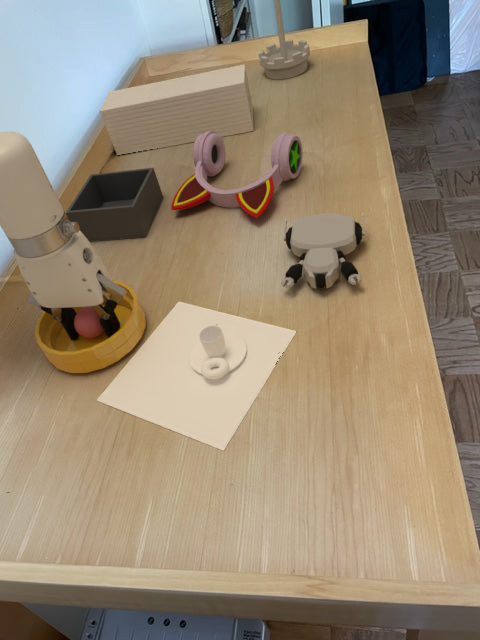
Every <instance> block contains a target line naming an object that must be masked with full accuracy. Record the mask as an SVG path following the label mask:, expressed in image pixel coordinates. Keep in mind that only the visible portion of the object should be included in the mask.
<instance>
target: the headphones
mask: <svg viewBox="0 0 480 640" xmlns="http://www.w3.org/2000/svg"><path fill="white" fill-rule="evenodd" d="M193 143H194V144H193V148H192V160H193V164H194V166H195V169H194V173H193V174H192V175H191V176H190V177H189V178H187V179H186V180H185V181H184V182H183V183H182V184H181V186H180V187H179V188H178V190H177V191H176V193H175V195H174V197H173V199H172V202H171V207H170V210H171V211H181V210H186V209H191V208H193V207H196V206H199V205H201V204H204V203H205V202H207V201H209V202H210V203H212V204H213V205H215V206H217V207H221V208H227V209H229V208H230V209H231V208H232V209H235V208H241V209H242V210H243V211H244V212H245V213H246V214H247V215H248V216H250V217H252V218H255V219H258V218H259V217H261V216H262V215H263V214H264V213H265V212H266V210H267V209H268V208H269V205H270V204H271V202H272V200H273V197H274V193H275V191H276V190H277V189H278V187H279V186H280V185H281V184H282V182H283V181H284V182H288V181H289V180H291V179H296V178H297V177H298V176H299V175H300V172H301V168H302V166H303V165H302V164H303V156H304V155H303V153H304V152H303V150H304V149H303V143H302V140H301V138H300V137H299V136H298V135H294V134H293V133H291V132H283V133H281V134H280V135H278V136H277V137H276V139H275V140H274V142H273V145H272V148H271V154H270V156H271V157H270V163H271V164H270V165H271V169H270V170H269V171H268V172H267V173H265V175H264V176H262V177H261V178H259V179H258V180H256V181H254V182H252V183H249V184H247V185H245V186H241V187H238V188H233V189H220V188H217V187H214V186H212V185H211V184H210V183H209V182H208V177H215V176H217V175H218V174H219V173H220V172H221V171H222V170H223V168H224V166H225V162H226V155H227V154H226V152H227V151H226V145H225V141H224V140H223V138H222V137H220V136H219V135H218V134H217V133H216V132H214V131H207V132H205V133H204V134H200V135H199V136H198V137H197V139H196V141H195V142H193Z"/></svg>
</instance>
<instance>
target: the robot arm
mask: <svg viewBox="0 0 480 640" xmlns="http://www.w3.org/2000/svg"><path fill="white" fill-rule="evenodd" d="M61 203H62V202H61V201H60V200H59V198H58V195H57V193H56V191H55V189H54V188H53V185H52V184H51V181H50V179H49V177H48V174H47V173H46V171H45V169H44V167H43V165H42V163H41V161H40V159H39V157H38V155H37V153H36V151H35V148H34V147H33V146H32V143H31V142H30V141H29V139H28V138H27V136H25V135H23V134H21V133H20V132H16V131H2V132H0V228H1V229H2V231H3V233H4V234H5V236H6V238H7V240H8V241H9V243H10V244H11V246H12V247H13V254H14V255H13V256H14V258H15V261H16V264H17V267H18V269H19V271H20V274H21V275H22V278H23V281H24V283H25V284H26V286H27V288H28V289H29V293H28V295H27V298H26V301H27V303H28V304H30V305H32V306H34V307H37V308H39V309H41V311H42V312H43V311H45V312H47V313H49V314H51V315H52V316H53V319H54V320H56V321H60V322H61V324H62V325H63V327H64V329H65V330H66V332H67V334H68V335H69V337H70V339H71V340H76V339H77V338H78V336H79V333H78V332H77V331H76V329H75V326H74V319H75V316H76V312H75V310H74V309H73V308H72V307H86V306H91V307H92V308H93V309H94V310H95V312H96V313H97V314H98V315H99V316H100V317H101V319H100V324H101V325H102V327H103V329H104V331H105V333H106V335H107V337H108V338H110V337H111V336H112V335H114V334H115V333H116V332H117V331H118V330H119V328H120V322H119V320H118V318H117V316H116V314H115V312H114V310H115V308H116V306H117V305H118V304H119V303H120V302H121V301H122V300H123V299H124V297H125V295H126V292H127V291H126V290H125V289H124V288H122V287H121V286H119V285H117V284H116V283H114V282H113V281H112V280H113V279H112V277H111V274H110V272H109V271H108V269H107V267H106V265H105V263H104V262H103V260H102V258H101V257H100V255H99V254H98V252H97V250H96V249H95V247H94V246H93V244H92V242H89V241H88V239H87V238H86V237H85V236H84V234H83V233H82V232H81V231H80V227H79V224H78V223H77V222H71V221H69V219H68V217H67V215H66V212H65V210H64V208H63V205H62V204H61ZM104 291H105V292H107V293H108V294H110V295H111V297H109V296H108V295H107V294H106V293H105V292H104ZM101 303H103V304H104V305H105V306H104V307H103V306H102V305H101ZM68 307H69V308H68Z"/></svg>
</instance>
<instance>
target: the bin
mask: <svg viewBox="0 0 480 640" xmlns="http://www.w3.org/2000/svg"><path fill="white" fill-rule="evenodd" d="M163 200H164V194H163V192H162V189H161V186H160V183H159V179H158V177H157V174H156V170H155V168H154V167H146V168H136V169H127V170H119V171H110V172H109V171H108V172H101V173H92V174H90V175H89V176H88V177H87V179H86V181H85V182H84V184H83V186H82V187H81V189H80V190H79V191H78V193H77V194H76V196H75V198H74V199H73V200H72V202H71V204H70V205H69V206H68V208H67V210H66V212H65V214H66V215H67V217H68V219H69V221H71V222H77V223H78V224H79V227H80V231H81V232H82V233H83V234H84V236H85V237H86V238H87V239H88V241H89V242H90V243H93V242H105V241H118V240H130V239H142V238H143V239H144V238H147V236H148V233H149V231H150V230H151V229H150V228H151V227H152V224H153V222H154V220H155V218H156V216H157V213H158V211H159V209H160V206H161V204H162V202H163Z"/></svg>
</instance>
